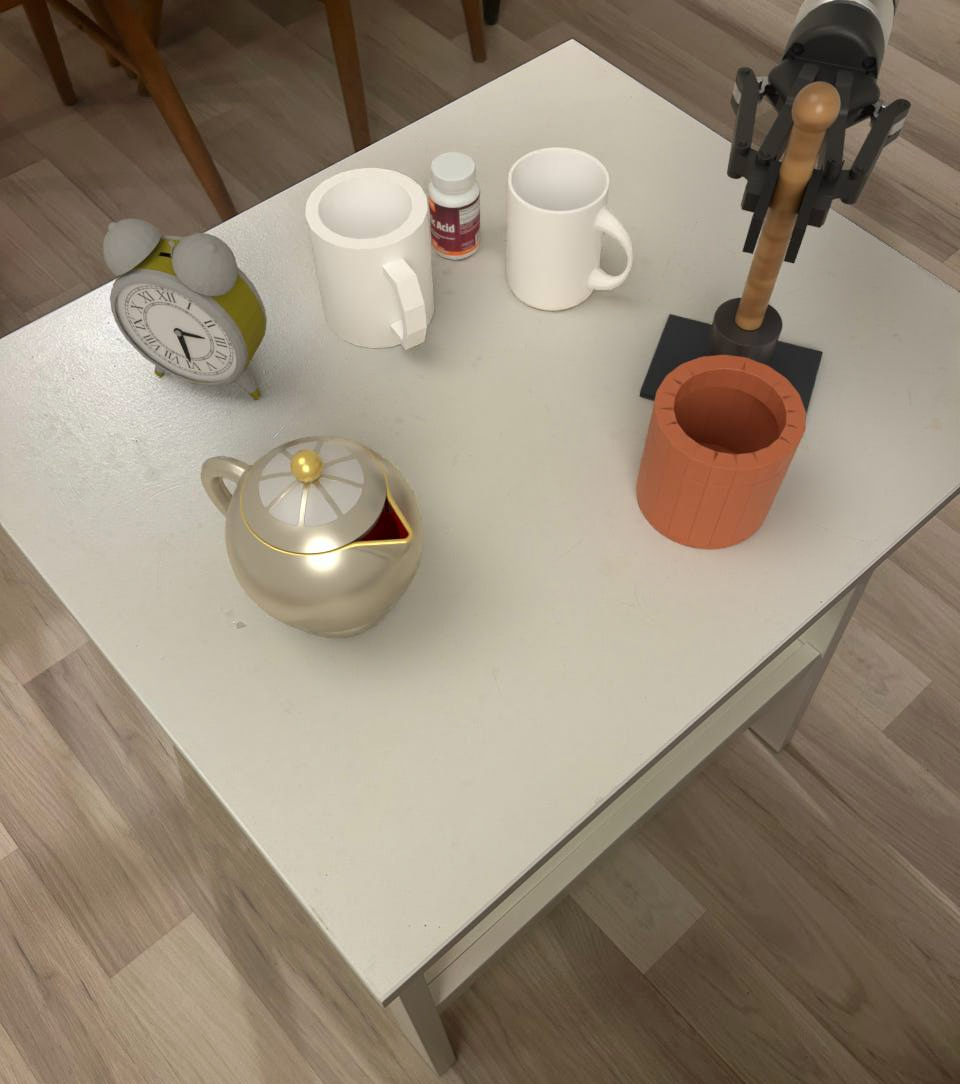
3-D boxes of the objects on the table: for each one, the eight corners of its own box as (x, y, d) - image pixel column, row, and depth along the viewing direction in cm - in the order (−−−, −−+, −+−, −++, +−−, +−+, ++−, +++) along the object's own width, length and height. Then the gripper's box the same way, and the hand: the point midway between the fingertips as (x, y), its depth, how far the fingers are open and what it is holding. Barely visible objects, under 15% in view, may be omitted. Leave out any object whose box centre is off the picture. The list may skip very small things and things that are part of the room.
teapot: (468, 565, 73) (462, 424, 58) (377, 705, 67) (346, 587, 53) (279, 478, 77) (230, 327, 63) (178, 603, 72) (99, 468, 57)
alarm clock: (141, 385, 82) (73, 241, 69) (175, 331, 85) (116, 183, 72) (262, 414, 80) (216, 272, 67) (292, 358, 83) (254, 212, 70)
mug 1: (473, 343, 84) (471, 244, 75) (374, 388, 82) (359, 291, 72) (401, 256, 90) (391, 153, 80) (306, 295, 87) (284, 194, 78)
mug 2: (602, 341, 84) (616, 240, 75) (488, 292, 87) (488, 190, 78) (645, 283, 87) (663, 180, 78) (534, 239, 91) (540, 134, 81)
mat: (821, 356, 83) (823, 351, 82) (799, 438, 79) (801, 433, 78) (668, 318, 85) (669, 313, 85) (639, 396, 81) (640, 391, 80)
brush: (782, 368, 79) (886, 97, 59) (726, 389, 78) (811, 121, 57) (746, 325, 82) (834, 51, 61) (692, 345, 81) (761, 73, 60)
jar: (795, 520, 75) (836, 437, 66) (678, 568, 73) (704, 490, 64) (723, 426, 79) (752, 337, 70) (612, 469, 77) (628, 383, 68)
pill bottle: (421, 244, 90) (415, 165, 83) (456, 221, 92) (453, 141, 84) (455, 268, 89) (451, 189, 81) (490, 244, 90) (490, 165, 83)
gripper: (913, 116, 76) (866, 311, 65) (729, 78, 78) (656, 260, 68) (954, 18, 69) (908, 218, 59) (751, -19, 72) (674, 166, 61)
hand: (773, 240), depth 63 cm, fingers closed on brush, 2 cm apart
